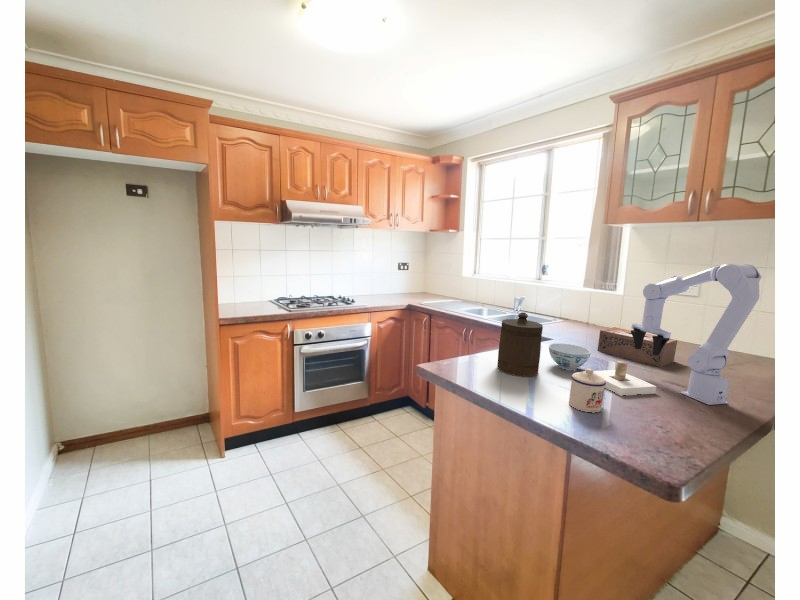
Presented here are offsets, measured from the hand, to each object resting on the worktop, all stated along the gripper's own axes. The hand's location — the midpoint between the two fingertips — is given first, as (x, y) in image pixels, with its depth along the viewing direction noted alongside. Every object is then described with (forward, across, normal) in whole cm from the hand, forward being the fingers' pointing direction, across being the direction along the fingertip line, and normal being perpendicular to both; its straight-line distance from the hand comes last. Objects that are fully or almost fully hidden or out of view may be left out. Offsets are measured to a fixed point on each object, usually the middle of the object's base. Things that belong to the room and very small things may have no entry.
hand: (646, 351), depth 139 cm
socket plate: (+9, -7, +18) cm, 21 cm away
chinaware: (+10, +12, +24) cm, 28 cm away
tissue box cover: (+10, +23, -20) cm, 32 cm away
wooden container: (+10, +12, +46) cm, 49 cm away
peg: (+9, -7, +18) cm, 21 cm away
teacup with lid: (+10, -20, +42) cm, 47 cm away
